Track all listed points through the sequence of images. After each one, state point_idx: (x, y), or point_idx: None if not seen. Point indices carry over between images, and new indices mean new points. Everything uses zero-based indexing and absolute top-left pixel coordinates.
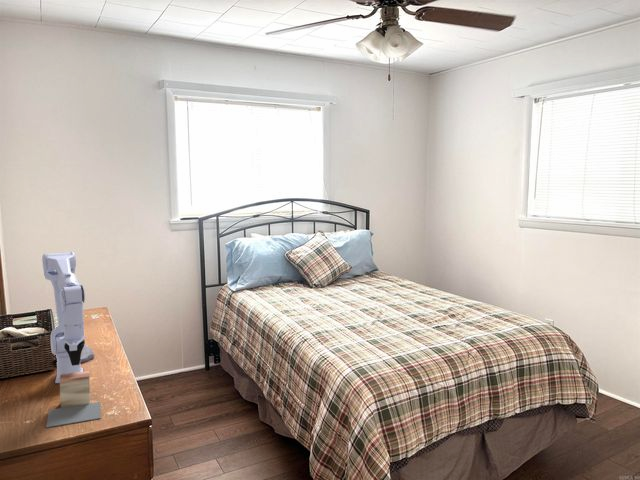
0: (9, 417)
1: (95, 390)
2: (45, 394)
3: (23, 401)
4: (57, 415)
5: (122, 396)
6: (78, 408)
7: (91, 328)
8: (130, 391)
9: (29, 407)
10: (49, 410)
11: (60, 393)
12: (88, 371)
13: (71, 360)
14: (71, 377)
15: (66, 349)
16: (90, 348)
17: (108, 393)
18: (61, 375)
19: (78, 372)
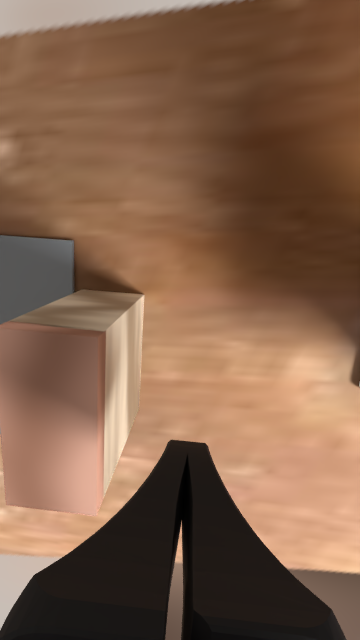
0: (69, 46)
1: (206, 433)
2: (270, 216)
3: (234, 103)
4: (4, 275)
5: (102, 515)
6: None
7: None
8: None
9: (147, 142)
10: (65, 240)
11: (46, 306)
12: (87, 510)
13: (157, 472)
14: (18, 406)
15: (31, 587)
16: None
17: None
18: (77, 343)
19: (91, 454)
